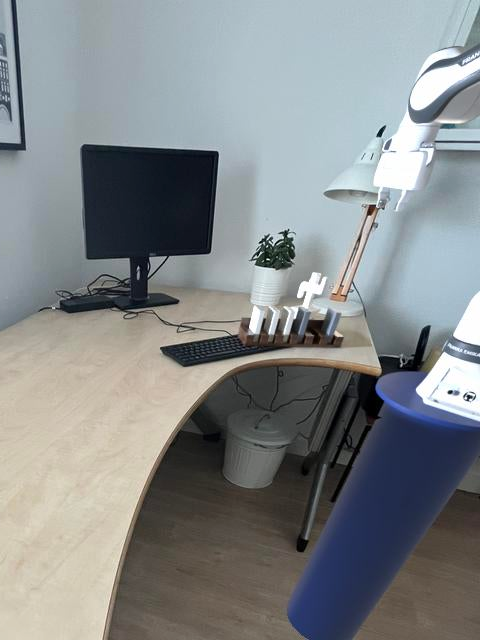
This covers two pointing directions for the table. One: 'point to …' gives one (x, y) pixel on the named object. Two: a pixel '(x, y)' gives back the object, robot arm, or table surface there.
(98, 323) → the table surface
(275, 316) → the white book
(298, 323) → the grey book
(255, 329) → the white book
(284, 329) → the white book
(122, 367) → the table surface
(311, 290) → the figurine
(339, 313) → the grey book
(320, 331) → the book rack
